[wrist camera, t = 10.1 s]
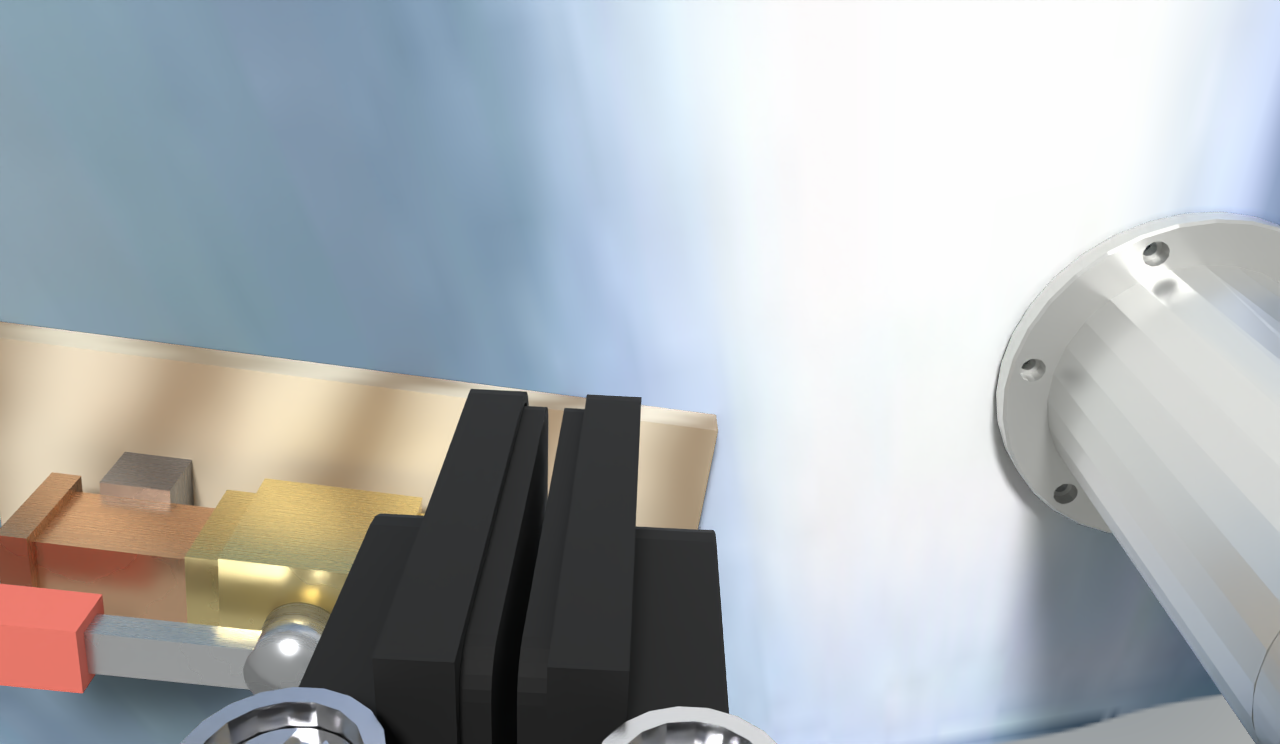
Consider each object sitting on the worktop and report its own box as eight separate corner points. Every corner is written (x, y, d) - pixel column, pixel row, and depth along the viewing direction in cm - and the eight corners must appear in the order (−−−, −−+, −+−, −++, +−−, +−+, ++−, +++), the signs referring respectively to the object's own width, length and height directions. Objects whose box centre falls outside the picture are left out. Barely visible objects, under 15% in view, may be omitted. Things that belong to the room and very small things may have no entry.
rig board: (715, 414, 40) (717, 430, 39) (665, 664, 46) (665, 684, 44) (-6, 321, 39) (-25, 334, 38) (28, 591, 44) (12, 610, 43)
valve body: (621, 503, 41) (618, 605, 35) (604, 605, 43) (599, 716, 37) (73, 435, 39) (-17, 531, 34) (83, 544, 41) (0, 650, 36)
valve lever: (344, 606, 35) (325, 655, 33) (343, 669, 36) (325, 720, 34) (-100, 559, 34) (-148, 606, 32) (-87, 625, 35) (-132, 674, 33)
